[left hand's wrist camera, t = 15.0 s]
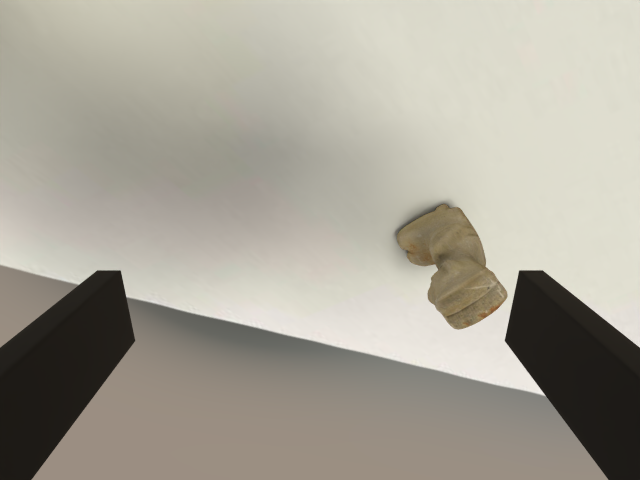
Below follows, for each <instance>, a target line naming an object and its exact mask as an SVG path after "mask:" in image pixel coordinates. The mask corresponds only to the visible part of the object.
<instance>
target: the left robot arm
mask: <svg viewBox="0 0 640 480" xmlns="http://www.w3.org/2000/svg"><path fill="white" fill-rule="evenodd" d="M134 342H135V338H134V333H133V328H132V323H131V318H130V314H129V309H128V304H127V299H126V294H125V289H124V284H123V280H122V275H121V271H96V272H95V273H94V274H92V275H91V276H90V277H89V278H87V279H86V280H85V281H84V282H82V283H81V284H80V285H79V286H77V287H76V288H75V289H74V290H72V291H71V292H70V293H69V294H67V295H66V296H65V297H63V298H62V299H61V300H60V301H58V302H57V303H56V304H55V305H53V306H52V307H51V308H50V309H48V310H47V311H46V312H45V313H43V314H42V315H41V316H40V317H38V318H37V319H36V320H35V321H33V322H32V323H31V324H30V325H28V326H27V327H26V328H25V329H23V330H22V331H21V332H19V333H18V334H17V335H16V336H14V337H13V338H12V339H11V340H10V341H8V342H7V343H6V344H4V345H3V346H2V347H1V348H0V480H31V479H32V478H33V477H34V475H35V474H36V473H37V471H38V470H39V469H40V467H41V466H42V465H43V463H44V462H45V461H46V459H47V458H48V457H49V455H50V454H51V453H52V451H53V450H54V449H55V447H56V446H57V445H58V443H59V442H60V441H61V439H62V438H63V437H64V435H65V434H66V433H67V431H68V430H69V429H70V427H71V426H72V425H73V423H74V422H75V421H76V419H77V418H78V417H79V415H80V414H81V413H82V411H83V410H84V409H85V407H86V406H87V405H88V403H89V402H90V401H91V399H92V398H93V397H94V395H95V394H96V393H97V391H98V390H99V389H100V387H101V386H102V384H103V383H104V382H105V381H106V379H107V378H108V376H109V375H110V374H111V372H112V371H113V370H114V368H115V367H116V366H117V364H118V363H119V362H120V360H121V359H122V358H123V356H124V355H125V354H126V352H127V351H128V350H129V348H130V347H131V346H132V344H133V343H134ZM505 342H506V343H507V344H508V346H509V347H510V348H511V350H512V351H513V352H514V354H515V355H516V356H517V358H518V359H519V360H520V362H521V363H522V364H523V366H524V367H525V368H526V370H527V371H528V372H529V374H530V375H531V376H532V378H533V379H534V381H535V382H536V383H537V385H538V386H539V387H540V389H541V390H542V391H543V393H544V394H545V395H546V397H547V398H548V399H549V401H550V402H551V403H552V405H553V406H554V407H555V409H556V410H557V411H558V413H559V414H560V415H561V416H562V418H563V419H564V421H565V422H566V423H567V425H568V426H569V427H570V429H571V430H572V431H573V433H574V434H575V435H576V437H577V438H578V439H579V441H580V442H581V443H582V445H583V446H584V447H585V449H586V450H587V451H588V453H589V454H590V455H591V457H592V458H593V459H594V461H595V462H596V463H597V465H598V466H599V467H600V469H601V470H602V471H603V473H604V474H605V475H606V477H607V478H608V480H640V348H639V347H638V346H637V345H636V344H634V343H633V342H632V341H631V340H629V339H628V338H627V337H626V336H624V335H623V334H622V333H621V332H619V331H618V330H617V329H615V328H614V327H613V326H612V325H610V324H609V323H608V322H607V321H605V320H604V319H603V318H602V317H600V316H599V315H598V314H597V313H595V312H594V311H593V310H592V309H590V308H589V307H588V306H587V305H585V304H584V303H583V302H582V301H580V300H579V299H578V298H577V297H575V296H574V295H573V294H571V293H570V292H569V291H568V290H566V289H565V288H564V287H563V286H561V285H560V284H559V283H558V282H556V281H555V280H554V279H553V278H551V277H550V276H549V275H548V274H546V273H545V272H544V271H519V275H518V280H517V284H516V289H515V294H514V299H513V304H512V309H511V313H510V318H509V323H508V328H507V333H506V338H505Z"/></svg>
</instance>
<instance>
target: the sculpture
mask: <svg viewBox="0 0 640 480" xmlns="http://www.w3.org/2000/svg"><path fill="white" fill-rule="evenodd" d="M397 241H398V244H399V246H400V247H401V248H402V249H404V250H408V254H407V258H408V259H409V260H410V262H412V263H413V264H416V265H420V266H428V265H433V264H436V266H437V268H438V271H437V272H436V273H435V274H434V275H433V276H432V277H431V281H432V282H431V286H430V288H429V290H428V300H429V301H430V302H431V303H432V304H434V305H435V307H436V309H437V310H438V311H439V312H440V313H441V314H442V315H443V316H444V318H445V319H446V321H447V322H448V323H449V324H450V325H451V326H452V327H453V328H454V329H463V328H466V327H469V326H471V325H473V324H476V323H478V322H479V321H481V320H482V319H484V318H486V317H487V316H489V315H490V314H492V313H493V312H494V311H496V310H497V309H498V308H499V307H500V306H501V304H502V303H503V302H504V301H505V300H506V298H507V291H506V290H505V288H504V287H503V286H502V284H501V283H500V282H499V281H498V279H497V278H496V276H495V274H494V273H493V272H492V271H490V270H488V268H486V267H485V266H486V259H485V255H484V250H483V247H482V244H481V241H480V238H479V236H478V234H477V232H476V231H475V229H474V228H473V226H472V225H471V223H470V222H469V220H468V219H467V217H466V216H465V215H464V213H463V212H462V210H461V209H460V208H458V207H454V208H449V207H448V206H447V205H446V204H442V205H440V206H438V207H437V208H436V210H435V211H433V212H431V213H428V214H426V215H424V216H422V217H420V218H418V219H416V220H415V221H413V222H411V223H410V224H408V225H407V226H405V227H404V228H403V229H401V230H400V232H399V233H398V235H397Z"/></svg>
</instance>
